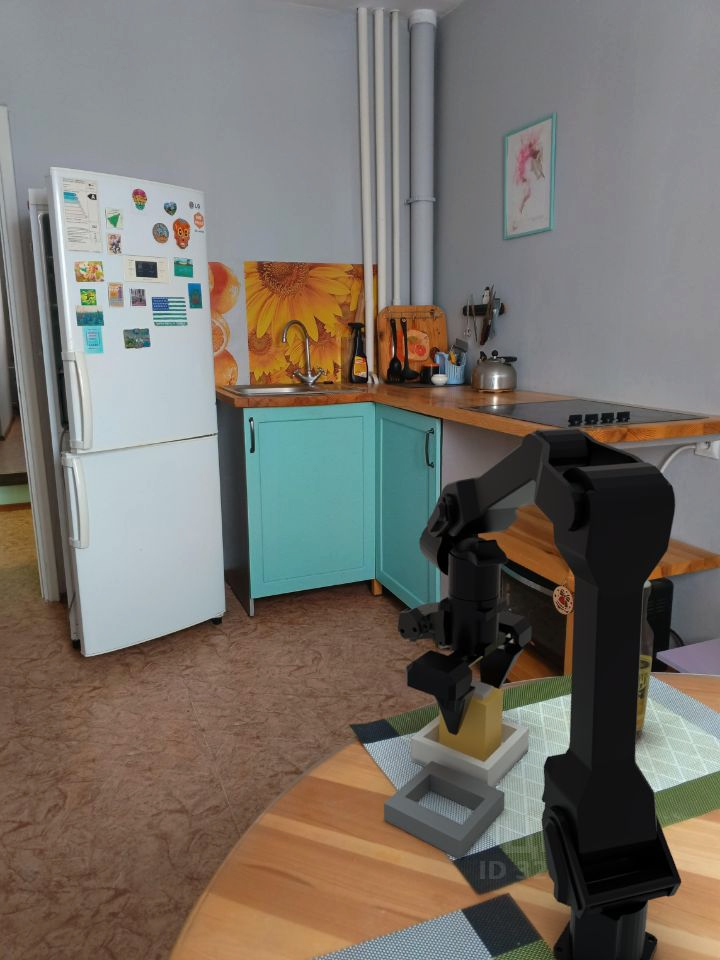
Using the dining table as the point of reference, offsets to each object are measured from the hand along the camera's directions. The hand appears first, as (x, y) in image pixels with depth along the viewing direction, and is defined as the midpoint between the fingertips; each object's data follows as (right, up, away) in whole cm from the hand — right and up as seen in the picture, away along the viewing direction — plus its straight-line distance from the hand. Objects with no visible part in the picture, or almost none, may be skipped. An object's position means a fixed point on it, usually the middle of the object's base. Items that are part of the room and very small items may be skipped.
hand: (470, 717), depth 83 cm
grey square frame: (-4, -7, -9) cm, 12 cm away
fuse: (0, -4, +1) cm, 4 cm away
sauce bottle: (+19, -4, +6) cm, 20 cm away
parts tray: (0, -5, +1) cm, 5 cm away
